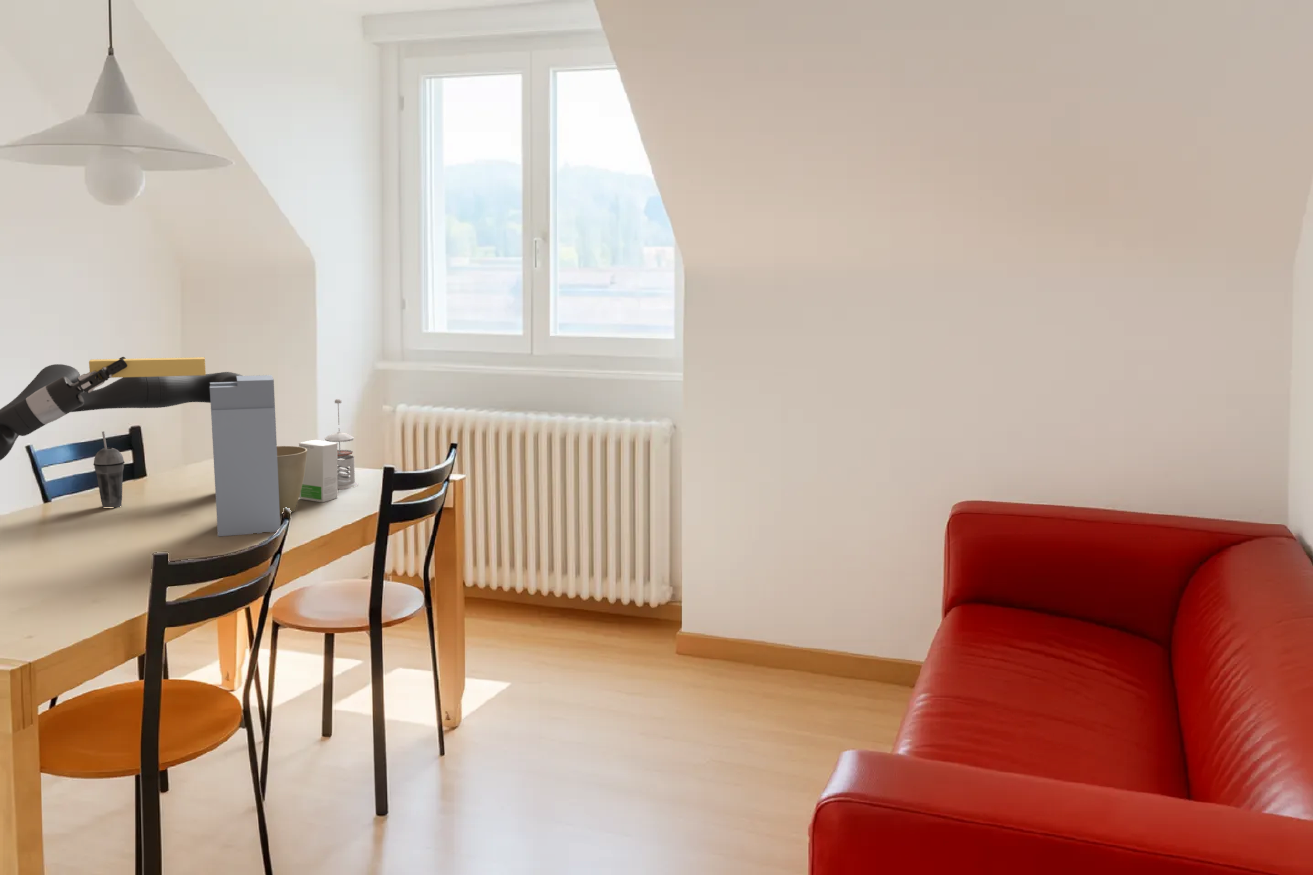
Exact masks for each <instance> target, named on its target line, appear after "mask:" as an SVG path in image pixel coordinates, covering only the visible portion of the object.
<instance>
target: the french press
mask: <svg viewBox="0 0 1313 875" xmlns="http://www.w3.org/2000/svg"><path fill="white" fill-rule="evenodd" d="M334 404H337V416H338V424H340V407H339V406H340V404H342V400H341V399H340V398H336V399H334ZM340 430H341V429H338V431H337V432H333V433H331V434H329V435H327V436H326V437H324V441H328V442H334V443H338V445H339V447H338V448H339V449H337V490H345V489H344V488H347V489H352V488H351V487H353V488H355V487H354V486H356V487H358V486H359V483H358V482H357V481H356V478H355V475H356V474H355V456H354V455H352V454H353V453H354V452H353V450H350V449H341V443H342V442H343V443H346V442H352V441H354V439H355V437H354V436H352V435H350V434H348V433H346V432H341V431H340Z"/></svg>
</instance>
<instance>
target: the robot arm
mask: <svg viewBox="0 0 1313 875" xmlns="http://www.w3.org/2000/svg"><path fill="white" fill-rule="evenodd" d="M118 359H119V360H118V361H116V362H114V363H112V364H110V365H109V366H107V367H103V368H102V369H100V370H99V371H96V370H94V371H92V372H90V371H89V372H87V373H83V374H80V372H79V370H78V369H76V368H75V367H72V366H71V365H67V364H62V363H60V364H59V363H58V364H57V363H56V364H50V365H47V366H45V367H44V368H43V369H41V370H40V371H39V373H37V374H36V375H35V377H34V378H33V379H32V380H31V381H30V382H29V384H27V386H26V387H25V388H24V389H22V391H21V392H20V393H19V394H18V395H17V396H16V397H15V398H13V399H12V400H11V401H10V402H8V403H7V404H5V405H4V406H3V407H1V408H0V461H2V460H3V459H4V458H5V457H6V456H7V455H8V454H9V453H10V451H11V450H12V448H13V447H14V444H15V443H16V441H17V440H18V437H19V436H20V437H25V436H28V435H30V434H32V433H34V432H36V431H37V430H38V429H40V428H42V427H44V426H46V425H48V424H51V423H53V422H54V421H57V420H59V419H61V418H62V417H64V416H66V415H68V414H70V413H79V412H88V411H96V410H108V409H109V410H110V409H111V410H112V409H160V408H168V407H174V406H178V405H182V404H183V405H184V404H188V403H209V404H211V401H210V383H213V382H237V376H244V375H243V374H240V373H236V372H233V371H222V372H215V373H214V372H213V373H206V375H196V376H156V377H120V378H118V379H117V380H115V381H113V382H112V383H110V384H107V385H105V386H104V387H100V388H98V387H99V386H102V385H103V384H105V382H106V381H109V379H112V378H111V376H113V375H114V374H116V373H117V372H119V371H121V370H123V369H124V368H126V367H127V364H126V362H125V361H124V359H127V358H126V357H125V356H121V357H120V358H118ZM99 374H100V375H99ZM112 374H113V375H112ZM90 375H91V376H90ZM95 377H96V378H95ZM101 377H102V378H101ZM96 388H98V389H96Z"/></svg>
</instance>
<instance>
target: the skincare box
mask: <svg viewBox="0 0 1313 875" xmlns="http://www.w3.org/2000/svg"><path fill="white" fill-rule="evenodd" d="M338 445H339V442H330V441H326V440H320V439H319V440H318V439H311V440H306V441H301V442H299V443H298V447H304V448H306V449H307V457H306V467H305V473H304V479H303V484H302V488H301V492H300V496H299V500H304V501H313V502H319V503H327V502H329V501H332V500H335V499H338V489H337V470H338V469H337V466H338V465H337V460H338V459H337V450H338Z"/></svg>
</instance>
